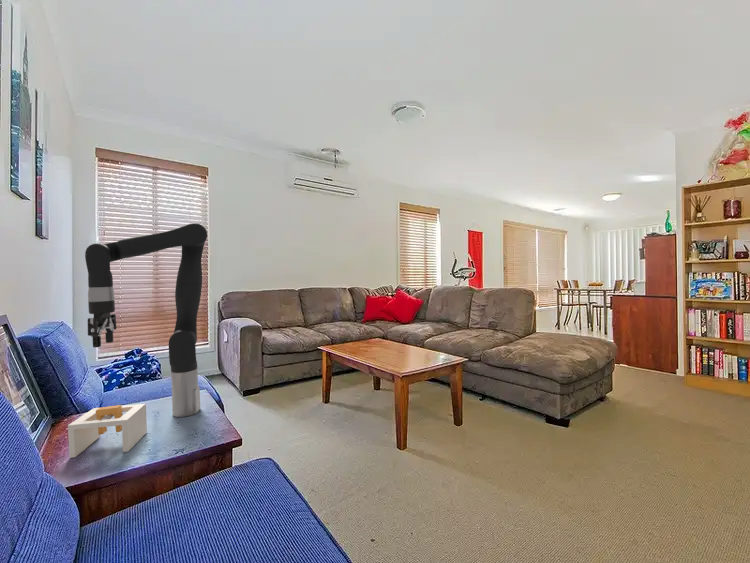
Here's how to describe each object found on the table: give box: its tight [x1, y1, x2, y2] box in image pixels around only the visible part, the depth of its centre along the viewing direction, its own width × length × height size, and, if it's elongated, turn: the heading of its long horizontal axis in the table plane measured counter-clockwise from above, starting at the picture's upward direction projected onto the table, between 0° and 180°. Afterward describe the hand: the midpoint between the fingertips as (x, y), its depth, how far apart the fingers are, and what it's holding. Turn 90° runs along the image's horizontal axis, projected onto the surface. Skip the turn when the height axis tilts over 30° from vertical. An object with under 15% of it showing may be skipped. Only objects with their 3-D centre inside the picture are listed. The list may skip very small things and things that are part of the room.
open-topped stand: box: [67, 403, 148, 459], centre depth 118 cm, size 16×14×10 cm
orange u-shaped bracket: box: [96, 404, 124, 436], centre depth 118 cm, size 6×2×8 cm, turn 98°
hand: (103, 344), depth 131 cm, fingers open, 8 cm apart
